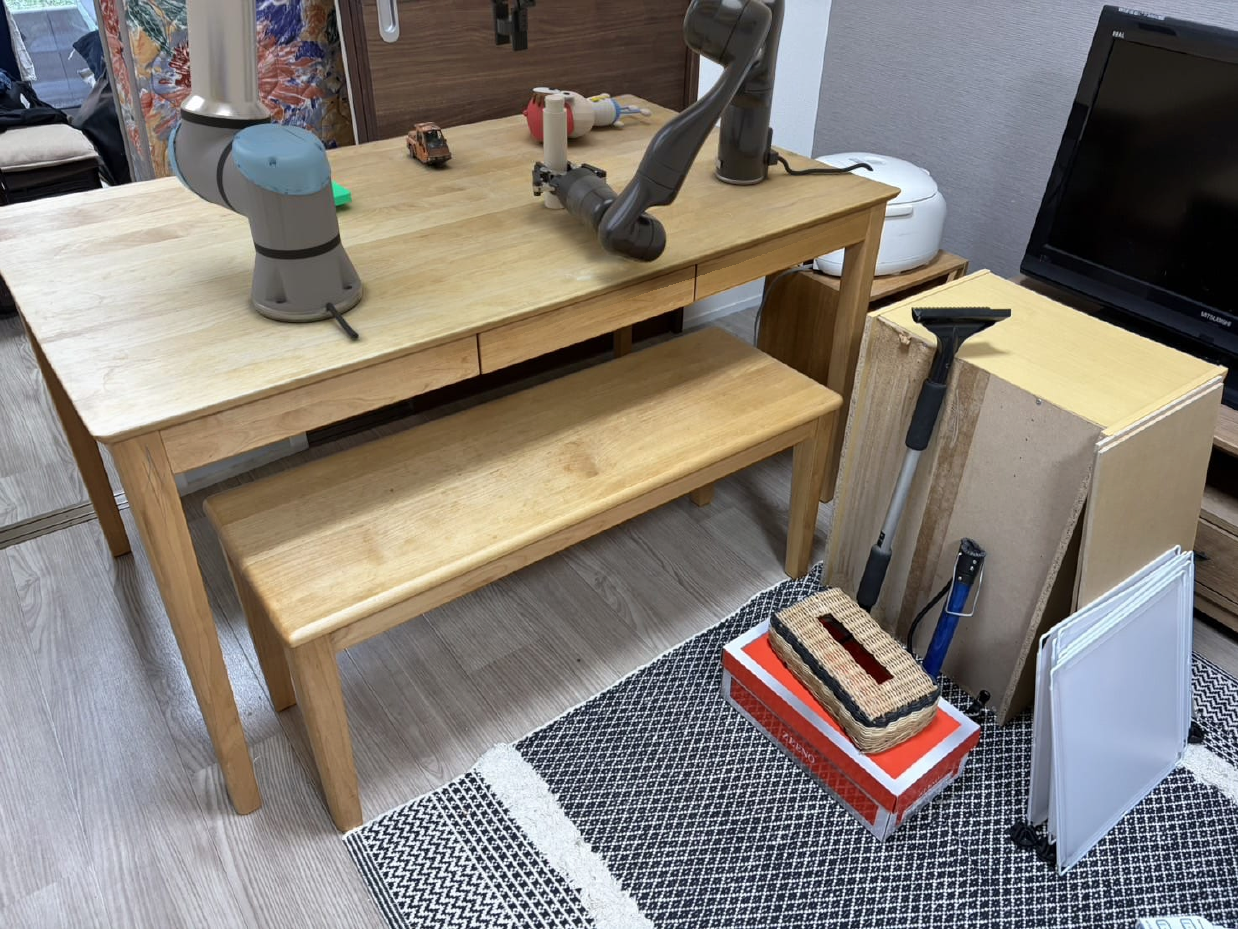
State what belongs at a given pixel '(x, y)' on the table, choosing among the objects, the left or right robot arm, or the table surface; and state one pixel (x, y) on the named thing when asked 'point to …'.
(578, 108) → the toy
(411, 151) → the toy car
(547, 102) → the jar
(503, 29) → the lid
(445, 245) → the table surface
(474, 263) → the table surface
